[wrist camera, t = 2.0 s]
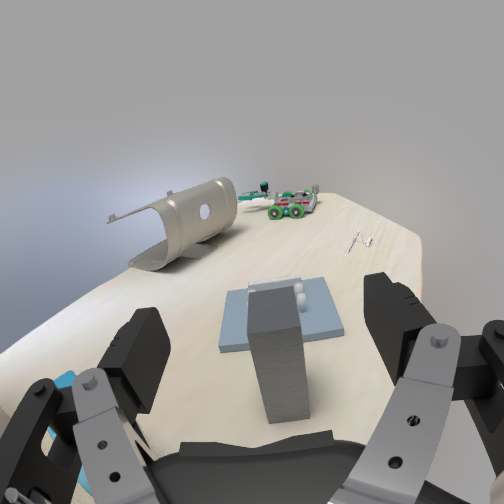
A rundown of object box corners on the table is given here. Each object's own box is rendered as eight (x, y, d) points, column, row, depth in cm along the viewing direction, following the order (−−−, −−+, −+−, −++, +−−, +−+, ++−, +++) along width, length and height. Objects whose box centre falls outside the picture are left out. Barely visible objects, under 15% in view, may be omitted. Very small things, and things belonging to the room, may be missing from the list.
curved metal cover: (176, 279, 61) (155, 207, 55) (118, 265, 74) (101, 210, 68) (246, 233, 79) (235, 175, 73) (184, 229, 93) (173, 181, 87)
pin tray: (220, 352, 38) (213, 330, 36) (229, 297, 51) (224, 278, 49) (343, 335, 36) (343, 312, 35) (323, 283, 49) (322, 263, 48)
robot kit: (251, 205, 106) (246, 180, 103) (322, 201, 97) (318, 173, 94) (230, 223, 91) (224, 193, 87) (314, 219, 81) (310, 186, 78)
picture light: (357, 232, 68) (357, 223, 67) (375, 233, 66) (375, 224, 65) (343, 258, 57) (343, 248, 56) (364, 260, 55) (364, 249, 54)
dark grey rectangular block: (269, 423, 26) (246, 333, 22) (267, 381, 32) (248, 292, 27) (309, 418, 26) (301, 326, 21) (303, 376, 31) (293, 285, 27)
